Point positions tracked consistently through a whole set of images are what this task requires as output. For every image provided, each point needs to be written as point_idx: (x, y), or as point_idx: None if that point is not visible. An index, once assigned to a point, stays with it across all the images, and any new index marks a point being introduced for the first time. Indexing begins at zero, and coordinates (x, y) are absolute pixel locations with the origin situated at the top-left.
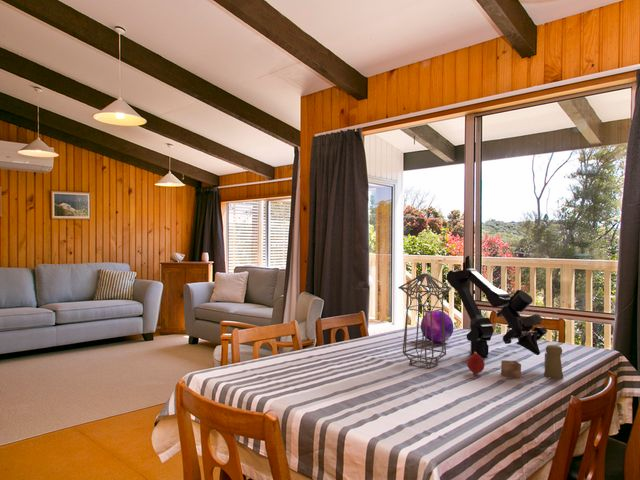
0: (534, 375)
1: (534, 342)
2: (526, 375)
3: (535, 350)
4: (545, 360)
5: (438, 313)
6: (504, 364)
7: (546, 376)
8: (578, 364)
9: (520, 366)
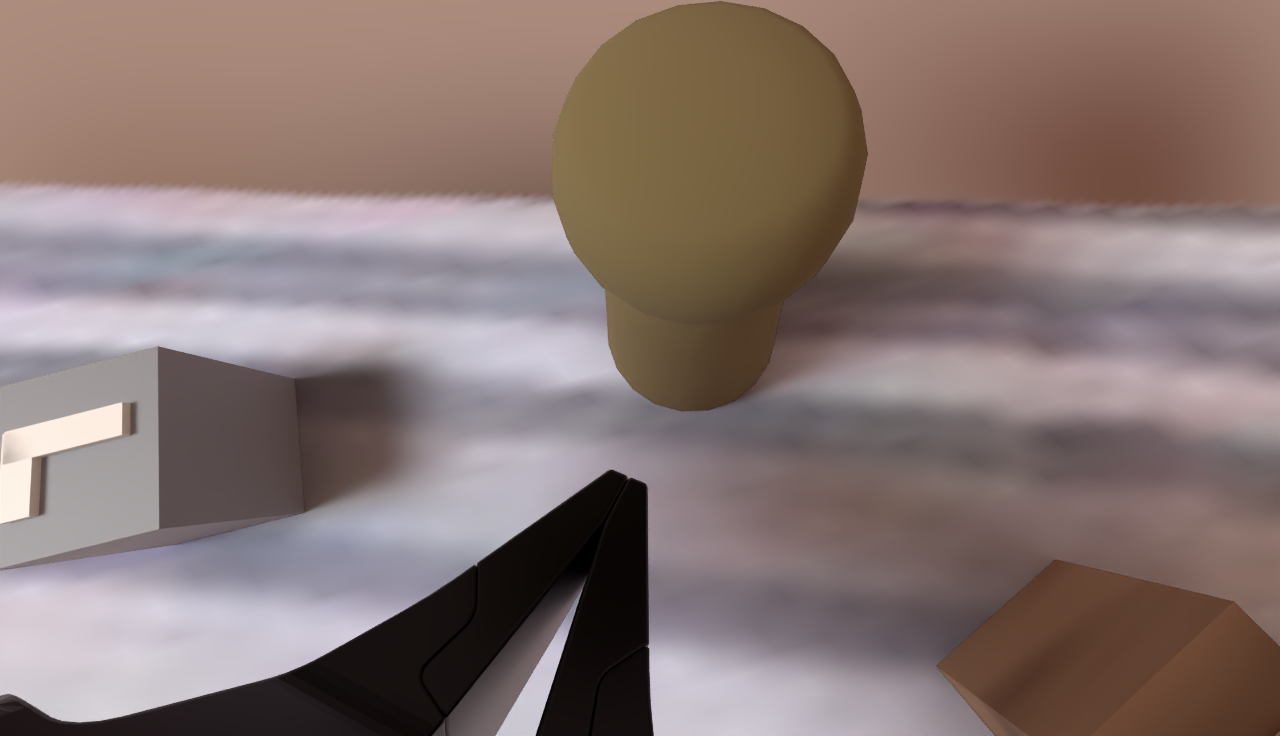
0: (795, 482)
1: (491, 662)
2: (866, 549)
3: (646, 553)
4: (251, 508)
5: None
6: None
7: (761, 372)
8: (53, 280)
9: (1203, 600)
